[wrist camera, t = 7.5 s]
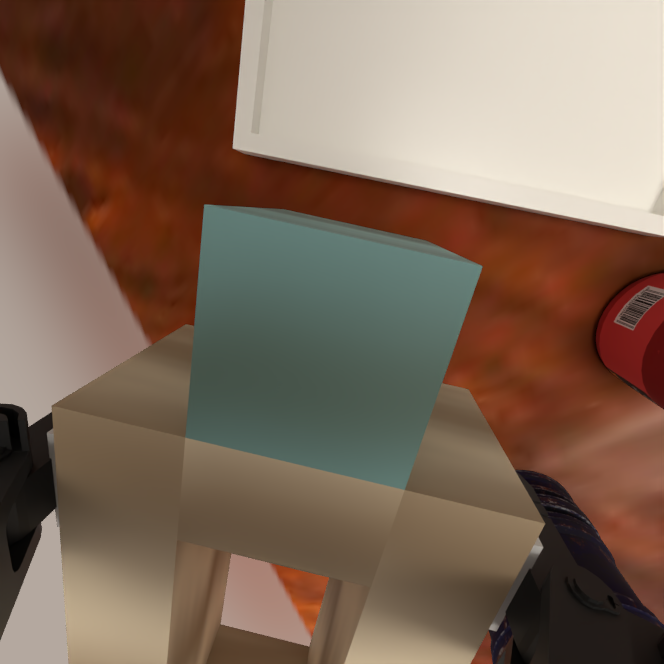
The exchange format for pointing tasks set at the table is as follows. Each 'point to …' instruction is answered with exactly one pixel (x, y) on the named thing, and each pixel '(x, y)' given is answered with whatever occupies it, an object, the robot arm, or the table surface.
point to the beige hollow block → (292, 459)
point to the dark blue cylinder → (575, 552)
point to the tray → (467, 99)
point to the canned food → (636, 337)
